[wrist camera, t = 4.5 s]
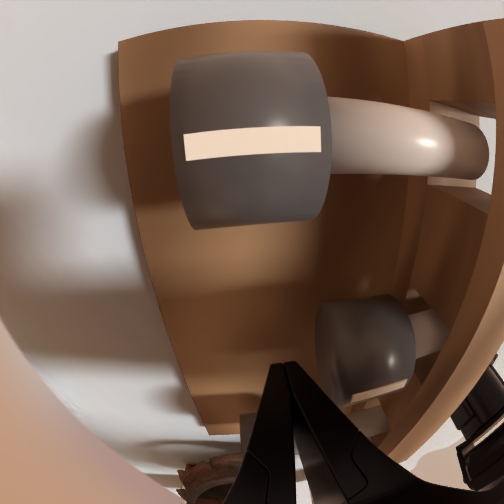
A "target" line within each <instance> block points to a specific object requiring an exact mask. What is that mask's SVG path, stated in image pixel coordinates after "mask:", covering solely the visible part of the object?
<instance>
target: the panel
mask: <svg viewBox="0 0 504 504" xmlns="http://www.w3.org/2000/svg"><path fill="white" fill-rule="evenodd" d="M246 51H293V52H305V53H307V54H309V55H310V56H311V57H312V59H313V60H314V62H315V63H316V65H317V67H318V69H319V71H320V73H321V76H322V79H323V82H324V85H325V89H326V93H327V97H339V98H350V99H359V100H367V101H375V102H382V103H388V104H394V105H400V106H405V107H410V108H415V109H420V110H424V111H428V112H433V113H437V114H441V115H444V116H448V117H452V118H455V119H459V120H462V121H465V122H468V123H471V124H474V125H476V126H477V127H478V128H479V116H481V117H488V118H494V119H496V154H495V168H494V178H493V186H492V194H491V195H490V194H488V193H486V192H484V191H482V190H479V189H477V188H475V187H476V179H475V180H465V179H455V178H444V177H431V176H415V175H392V174H330V179H329V185H328V190H327V194H326V198H325V201H324V204H323V206H322V209H321V211H320V213H319V214H318V216H317V217H316V218H315V219H313V220H309V221H296V222H282V223H270V224H258V225H246V226H235V227H224V228H213V229H203V230H194V229H193V228H192V227H191V225H190V223H189V221H188V219H187V217H186V214H185V211H184V208H183V205H182V201H181V197H180V193H179V188H178V184H177V179H176V173H175V167H174V160H173V153H172V143H171V131H170V89H171V79H172V73H173V69H174V66H175V63H176V61H177V60H178V59H180V58H185V57H192V56H199V55H208V54H217V53H229V52H246ZM118 71H119V93H120V108H121V120H122V130H123V139H124V147H125V155H126V162H127V168H128V175H129V181H130V187H131V193H132V198H133V204H134V209H135V214H136V219H137V223H138V228H139V232H140V237H141V241H142V245H143V250H144V254H145V258H146V262H147V266H148V269H149V273H150V277H151V280H152V284H153V288H154V291H155V294H156V298H157V301H158V304H159V308H160V311H161V314H162V317H163V320H164V323H165V327H166V330H167V332H168V335H169V338H170V341H171V344H172V347H173V350H174V352H175V355H176V358H177V361H178V363H179V366H180V369H181V371H182V374H183V376H184V379H185V381H186V384H187V386H188V389H189V391H190V393H191V396H192V398H193V401H194V403H195V405H196V407H197V410H198V412H199V414H200V416H201V419H202V421H203V423H204V425H205V427H206V429H207V432H208V434H209V435H228V434H240V420H239V418H240V414H245V413H256V412H257V411H258V407H259V404H260V400H261V397H262V393H263V390H264V386H265V382H266V378H267V375H268V371H269V367H270V365H271V364H273V363H284V362H288V361H296V362H297V363H298V364H299V365H300V366H301V367H302V368H303V369H304V370H305V372H306V373H307V374H308V375H309V376H310V377H311V378H312V379H313V380H314V382H315V383H316V384H317V385H318V386H319V387H320V388H321V389H322V390H323V388H322V384H321V381H320V377H319V372H318V367H317V360H316V351H315V321H316V315H317V311H318V309H319V307H320V305H322V304H324V303H331V302H338V301H344V300H351V299H357V298H363V297H369V296H375V295H380V294H389V295H392V296H394V297H395V298H396V299H397V300H398V301H399V302H400V303H401V304H402V305H403V307H404V308H405V310H406V312H407V314H408V315H411V314H415V313H418V312H422V311H426V310H430V309H433V310H434V311H435V313H436V314H437V315H438V316H439V317H440V318H441V320H442V321H443V322H444V323H445V324H446V325H447V327H448V328H449V329H450V330H451V332H450V334H449V336H448V338H447V340H446V342H445V344H444V346H443V348H442V350H439V351H437V352H434V353H431V354H428V355H426V356H423V357H420V358H417V359H416V361H415V367H414V371H413V375H412V377H411V379H410V381H409V383H408V384H407V386H406V387H405V388H403V389H402V390H400V391H397V392H394V393H391V394H388V395H385V396H382V397H379V398H376V399H372V400H369V401H365V402H362V403H358V404H354V405H350V406H346V407H342V408H339V409H340V410H341V411H342V412H343V413H344V414H349V413H353V412H357V411H360V410H364V409H367V408H371V407H374V406H377V405H381V407H382V409H383V411H384V413H385V416H386V418H387V420H388V422H389V427H388V430H387V431H386V432H383V433H380V434H377V435H374V436H371V437H368V439H369V440H370V441H371V442H372V443H373V444H374V445H375V446H376V447H377V448H379V449H380V450H381V451H382V452H384V453H385V454H386V455H387V456H388V457H390V458H391V459H392V460H394V461H395V462H397V463H401V462H403V461H405V460H407V459H408V458H409V457H410V456H411V455H413V454H414V453H415V452H416V451H417V450H418V449H419V448H420V447H421V446H422V445H423V444H424V443H425V442H426V441H427V440H428V439H429V438H430V437H431V436H432V435H433V434H434V433H435V432H436V431H437V430H438V429H439V428H440V427H441V426H442V425H443V424H444V423H445V421H446V420H447V419H448V418H449V417H450V416H451V415H452V413H453V412H454V411H455V410H456V409H457V408H458V406H459V405H460V404H461V403H462V401H463V400H464V399H465V398H466V396H467V395H468V394H469V392H470V391H471V390H472V388H473V387H474V386H475V384H476V383H477V381H478V380H479V379H480V377H481V376H482V374H483V373H484V371H485V370H486V368H487V367H488V365H489V364H490V362H491V361H492V359H493V357H494V356H495V354H496V353H497V351H498V349H499V348H500V346H501V344H502V342H503V341H504V18H503V19H495V20H488V21H481V22H476V23H470V24H465V25H460V26H456V27H452V28H447V29H443V30H440V31H436V32H432V33H429V34H425V35H422V36H419V37H415V38H412V39H409V40H406V41H401V40H397V39H394V38H390V37H387V36H383V35H379V34H375V33H371V32H366V31H362V30H357V29H352V28H346V27H340V26H334V25H327V24H319V23H309V22H297V21H278V20H246V21H227V22H215V23H206V24H198V25H191V26H184V27H178V28H173V29H167V30H163V31H158V32H153V33H149V34H145V35H141V36H137V37H133V38H130V39H126V40H123V41H120V42H118Z"/></svg>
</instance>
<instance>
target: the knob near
mask: <svg viewBox="0 0 504 504" xmlns="http://www.w3.org/2000/svg"><path fill="white" fill-rule="evenodd" d="M170 131H171V143H172V153H173V160H174V167H175V173H176V179H177V184H178V188H179V193H180V197H181V201H182V205H183V208H184V211H185V214H186V217H187V219H188V221H189V223H190V225H191V227H192V228H193V229H194V230H203V229H213V228H224V227H235V226H246V225H258V224H270V223H282V222H296V221H309V220H313V219H315V218H316V217H317V216H318V214H319V213H320V211H321V209H322V206H323V204H324V201H325V198H326V194H327V190H328V185H329V179H330V174H392V175H415V176H431V177H444V178H455V179H465V180H475V179H478V178H479V177H481V176H482V175H483V173H484V172H485V170H486V168H487V165H488V161H489V148H488V143H487V140H486V138H485V136H484V134H483V132H482V131H481V130H480V129H479V128H478V127H477V126H476V125H474V124H471V123H468V122H465V121H462V120H459V119H455V118H452V117H448V116H444V115H441V114H437V113H433V112H428V111H424V110H420V109H415V108H410V107H405V106H400V105H394V104H388V103H382V102H375V101H367V100H359V99H350V98H339V97H327V93H326V89H325V85H324V82H323V79H322V76H321V73H320V71H319V69H318V67H317V65H316V63H315V62H314V60H313V59H312V57H311V56H310V55H309V54H307V53H305V52H293V51H246V52H229V53H217V54H208V55H199V56H192V57H185V58H180V59H178V60H177V61H176V63H175V66H174V69H173V73H172V79H171V89H170Z"/></svg>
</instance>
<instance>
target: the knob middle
mask: <svg viewBox="0 0 504 504" xmlns="http://www.w3.org/2000/svg"><path fill="white" fill-rule="evenodd" d="M450 332H451V330H450V329H449V328H448V327H447V325H446V324H445V323H444V322H443V321H442V320H441V318H440V317H439V316H438V315H437V314H436V313H435V311H434V310H433V309H430V310H426V311H422V312H418V313H415V314H411V315H408V314H407V312H406V310H405V308H404V307H403V305H402V304H401V303H400V302H399V301H398V300H397V299H396V298H395V297H394V296H392V295H389V294H380V295H375V296H369V297H363V298H357V299H351V300H344V301H338V302H331V303H324V304H322V305H320V307H319V309H318V311H317V315H316V321H315V351H316V360H317V367H318V372H319V377H320V381H321V384H322V388H323V391H324V393H325V394H326V395H327V396H328V397H329V398H330V399H331V400H332V401H333V402H334V403H335V404H336V406H337V407H338V408H342V407H346V406H350V405H354V404H358V403H362V402H365V401H369V400H372V399H376V398H379V397H382V396H385V395H388V394H391V393H394V392H397V391H400V390H402V389H403V388H405V387H406V386H407V384H408V383H409V381H410V379H411V377H412V375H413V371H414V367H415V361H416V359H417V358H420V357H423V356H426V355H428V354H431V353H434V352H437V351H439V350H442V348H443V346H444V344H445V342H446V340H447V338H448V336H449V334H450Z"/></svg>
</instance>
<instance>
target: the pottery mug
mask: <svg viewBox="0 0 504 504" xmlns="http://www.w3.org/2000/svg"><path fill="white" fill-rule="evenodd" d="M242 460H243V457H242V453H239V454H232V455H225V456H217V457H213V458H211V459H210V462H209V463H207V462H201V463H199V464H197V465H196V466H195V467H193V466H192V465H190V464H186V468H185V471H184V470H177V472H178V474H179V477H180V480H181V482H182V484H183V486H184V487H185V489H186V490H185V489H183V488H182V489H176V491H177V492H178V494H179V495H180V496H181V497H182V498H183V499H184V500H185V501H186V502H187V503H186V504H222V503H223V502H224V500H225V498H226V496H227V494H228V492H229V491H230V489H231V487H232V485H233V483H234V480H235V478H236V476H237V474H238V471H239V468H240V466H241V463H242Z"/></svg>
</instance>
